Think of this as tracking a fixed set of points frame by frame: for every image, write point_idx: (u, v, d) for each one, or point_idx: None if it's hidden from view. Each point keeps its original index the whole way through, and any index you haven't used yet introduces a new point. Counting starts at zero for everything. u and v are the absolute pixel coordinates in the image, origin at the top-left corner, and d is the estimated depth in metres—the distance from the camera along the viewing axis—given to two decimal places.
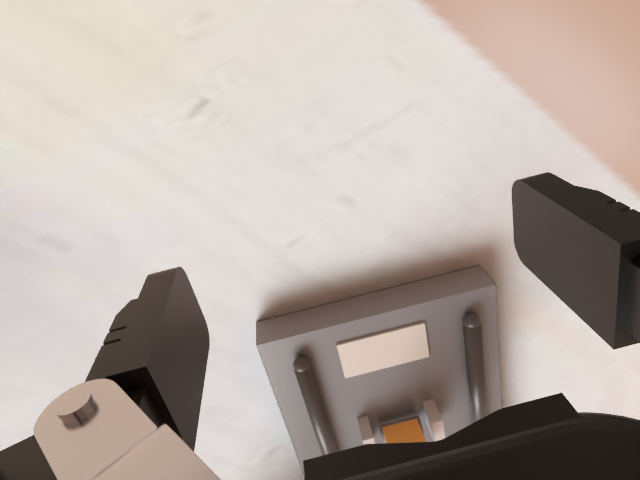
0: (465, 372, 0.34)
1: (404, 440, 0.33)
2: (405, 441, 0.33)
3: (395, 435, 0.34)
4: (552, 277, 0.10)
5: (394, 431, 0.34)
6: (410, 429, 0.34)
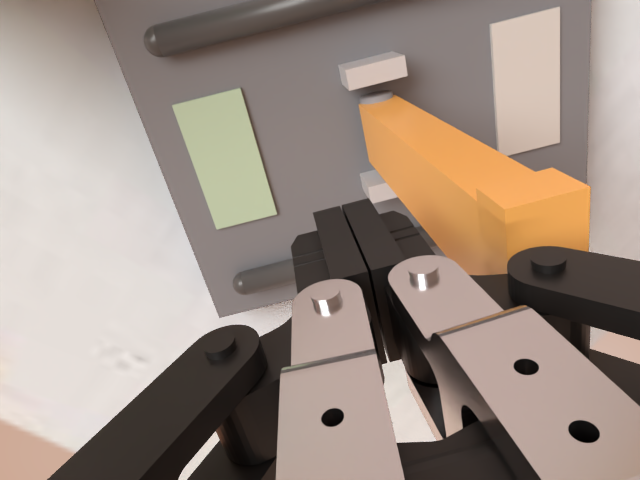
0: None
1: None
2: None
3: None
4: None
5: None
6: None
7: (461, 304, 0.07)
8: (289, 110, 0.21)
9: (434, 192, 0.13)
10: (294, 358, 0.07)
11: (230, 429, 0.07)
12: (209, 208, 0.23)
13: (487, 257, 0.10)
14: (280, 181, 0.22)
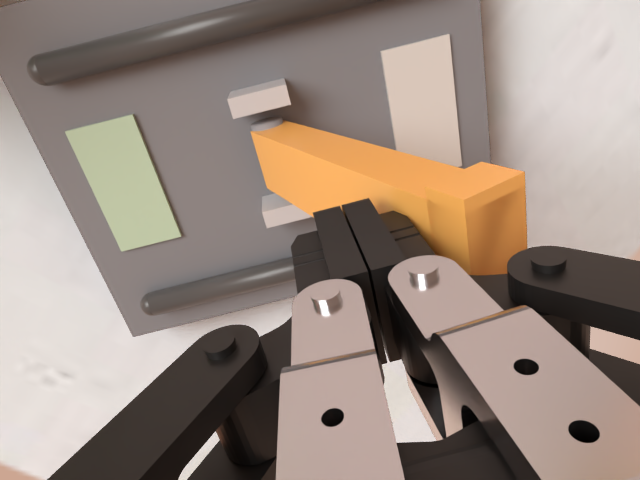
0: None
1: None
2: None
3: None
4: None
5: None
6: None
7: (460, 304, 0.07)
8: (185, 136, 0.21)
9: None
10: (294, 358, 0.07)
11: (230, 429, 0.07)
12: (113, 230, 0.23)
13: (441, 250, 0.11)
14: (182, 205, 0.23)
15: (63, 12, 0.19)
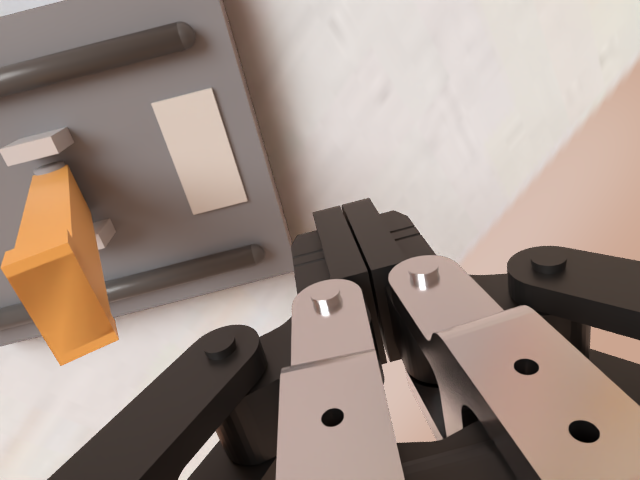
0: (165, 264, 0.27)
1: (79, 194, 0.23)
2: (80, 195, 0.22)
3: (74, 182, 0.23)
4: None
5: (74, 181, 0.23)
6: (85, 202, 0.23)
7: (461, 304, 0.07)
8: None
9: None
10: (294, 358, 0.07)
11: (230, 429, 0.07)
12: None
13: None
14: None
15: None
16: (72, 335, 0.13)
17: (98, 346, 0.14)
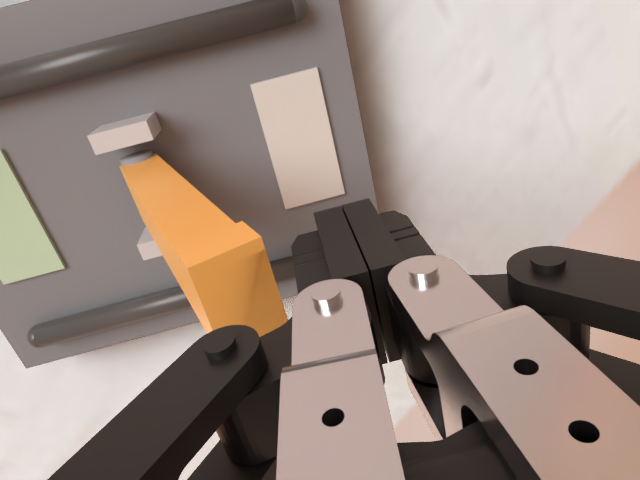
0: None
1: None
2: None
3: None
4: None
5: None
6: None
7: (460, 304, 0.07)
8: (58, 169, 0.21)
9: (168, 251, 0.13)
10: (294, 358, 0.07)
11: (230, 429, 0.07)
12: None
13: (200, 309, 0.11)
14: (63, 237, 0.23)
15: None
16: None
17: None
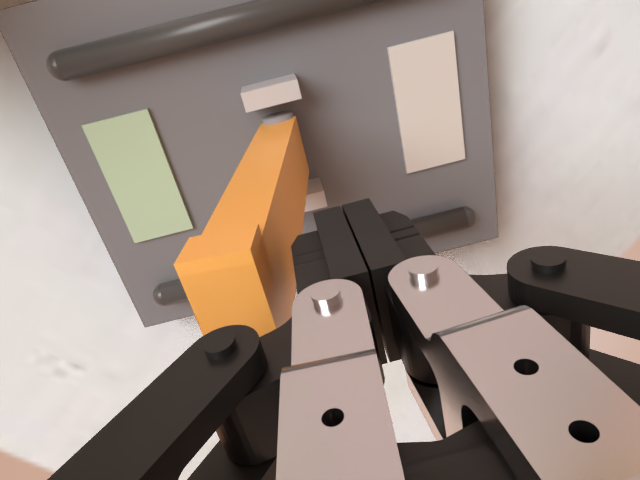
0: None
1: (300, 152, 0.20)
2: (300, 153, 0.20)
3: (298, 137, 0.21)
4: None
5: (299, 135, 0.21)
6: (304, 161, 0.21)
7: (461, 304, 0.07)
8: (197, 129, 0.22)
9: None
10: (294, 358, 0.07)
11: (230, 429, 0.07)
12: (126, 222, 0.23)
13: None
14: (194, 197, 0.23)
15: (81, 9, 0.19)
16: None
17: None
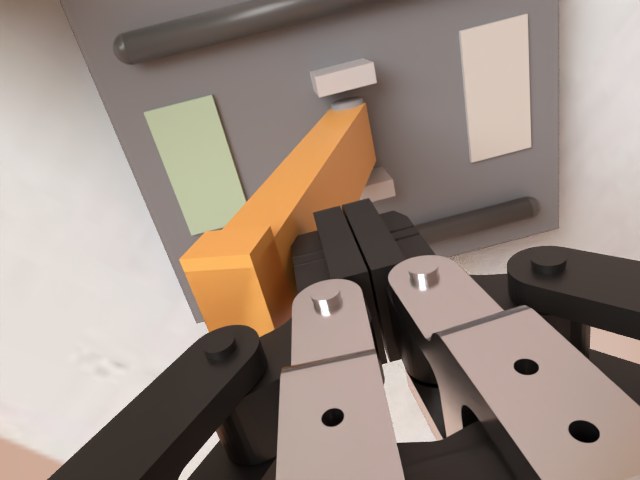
0: (426, 219, 0.24)
1: (365, 141, 0.19)
2: (364, 143, 0.19)
3: (365, 125, 0.20)
4: None
5: (366, 124, 0.20)
6: (370, 150, 0.20)
7: (461, 304, 0.07)
8: (261, 117, 0.21)
9: None
10: (294, 358, 0.07)
11: (230, 429, 0.07)
12: (183, 214, 0.23)
13: None
14: (254, 187, 0.23)
15: None
16: None
17: None
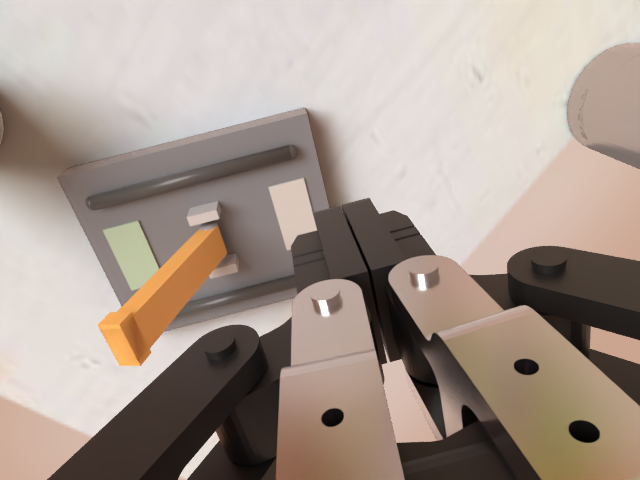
0: (266, 280, 0.43)
1: (214, 248, 0.38)
2: (213, 249, 0.38)
3: (215, 239, 0.38)
4: None
5: (217, 237, 0.39)
6: (220, 250, 0.39)
7: (461, 303, 0.07)
8: (166, 230, 0.40)
9: None
10: (294, 358, 0.07)
11: (229, 429, 0.07)
12: (126, 279, 0.41)
13: None
14: None
15: (103, 174, 0.37)
16: (123, 357, 0.29)
17: (134, 364, 0.30)
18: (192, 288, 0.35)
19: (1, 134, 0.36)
